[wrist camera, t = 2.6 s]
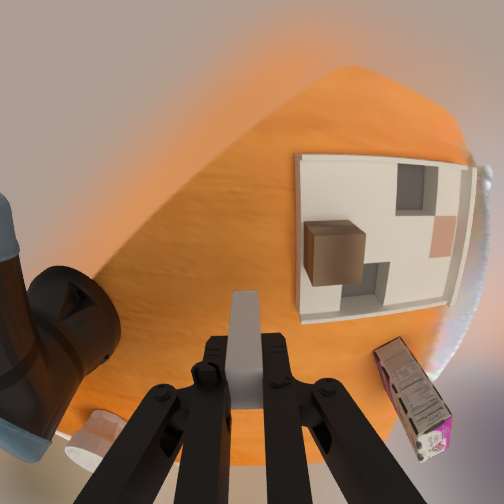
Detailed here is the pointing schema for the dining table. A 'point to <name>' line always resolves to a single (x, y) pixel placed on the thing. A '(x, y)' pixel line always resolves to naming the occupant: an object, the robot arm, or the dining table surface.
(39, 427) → the robot arm
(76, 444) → the cup
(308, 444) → the dining table surface
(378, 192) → the tray
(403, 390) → the candy bar box
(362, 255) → the block
